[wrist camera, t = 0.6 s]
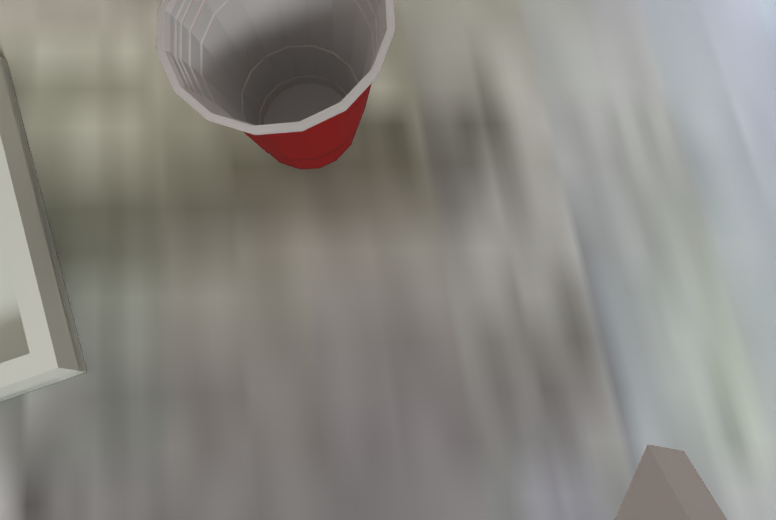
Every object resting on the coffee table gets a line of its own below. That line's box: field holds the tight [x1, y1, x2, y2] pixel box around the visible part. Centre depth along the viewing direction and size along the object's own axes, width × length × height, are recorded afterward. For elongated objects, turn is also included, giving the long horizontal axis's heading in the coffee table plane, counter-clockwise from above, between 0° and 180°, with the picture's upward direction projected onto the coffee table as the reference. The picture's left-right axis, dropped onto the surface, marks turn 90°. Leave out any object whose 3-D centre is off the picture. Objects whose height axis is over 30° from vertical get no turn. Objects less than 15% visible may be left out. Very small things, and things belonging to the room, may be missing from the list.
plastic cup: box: [157, 0, 395, 169], centre depth 37 cm, size 11×11×12 cm
